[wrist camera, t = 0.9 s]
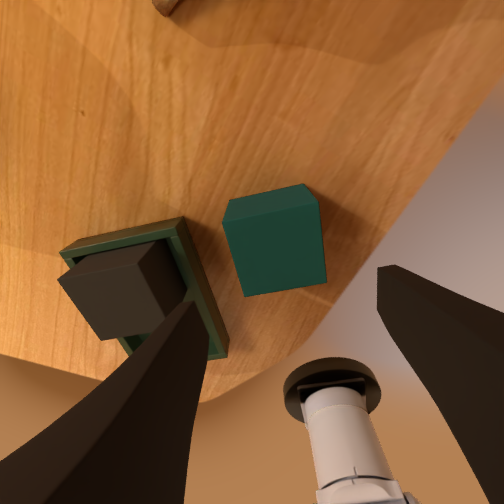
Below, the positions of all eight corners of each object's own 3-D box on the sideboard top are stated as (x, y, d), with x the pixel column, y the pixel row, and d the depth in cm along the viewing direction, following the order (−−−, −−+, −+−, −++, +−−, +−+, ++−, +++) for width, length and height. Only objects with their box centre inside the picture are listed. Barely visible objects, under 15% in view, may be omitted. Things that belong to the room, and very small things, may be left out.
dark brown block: (187, 289, 19) (171, 329, 15) (129, 300, 20) (100, 341, 16) (163, 232, 17) (137, 263, 13) (98, 246, 17) (55, 279, 14)
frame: (229, 339, 22) (227, 358, 20) (147, 352, 23) (138, 371, 21) (183, 216, 17) (174, 226, 15) (77, 239, 18) (58, 252, 16)
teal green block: (312, 250, 18) (327, 283, 14) (246, 262, 18) (244, 297, 15) (303, 183, 16) (318, 201, 12) (229, 199, 16) (221, 222, 12)
